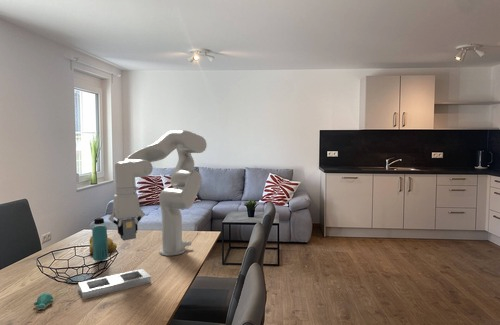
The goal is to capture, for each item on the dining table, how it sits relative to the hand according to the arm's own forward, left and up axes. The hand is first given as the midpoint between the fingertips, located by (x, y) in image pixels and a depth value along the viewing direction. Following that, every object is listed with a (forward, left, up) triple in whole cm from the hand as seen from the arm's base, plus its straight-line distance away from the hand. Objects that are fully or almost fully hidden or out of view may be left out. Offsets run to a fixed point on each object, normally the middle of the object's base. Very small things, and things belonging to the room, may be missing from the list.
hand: (128, 233), depth 144 cm
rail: (+8, +12, -16) cm, 22 cm away
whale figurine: (+32, +15, -17) cm, 39 cm away
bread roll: (+4, -33, -17) cm, 37 cm away
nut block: (0, 0, -2) cm, 2 cm away
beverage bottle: (+7, -19, -16) cm, 26 cm away
